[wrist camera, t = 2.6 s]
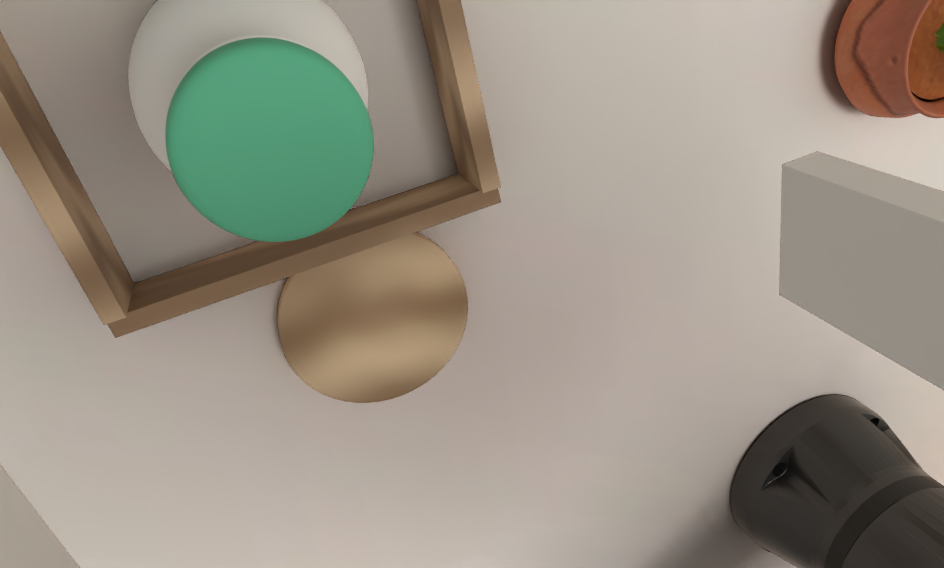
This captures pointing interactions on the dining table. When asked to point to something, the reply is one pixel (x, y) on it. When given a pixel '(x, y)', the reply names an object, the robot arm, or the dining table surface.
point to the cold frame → (232, 273)
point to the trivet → (374, 320)
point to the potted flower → (892, 57)
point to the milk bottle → (255, 111)
